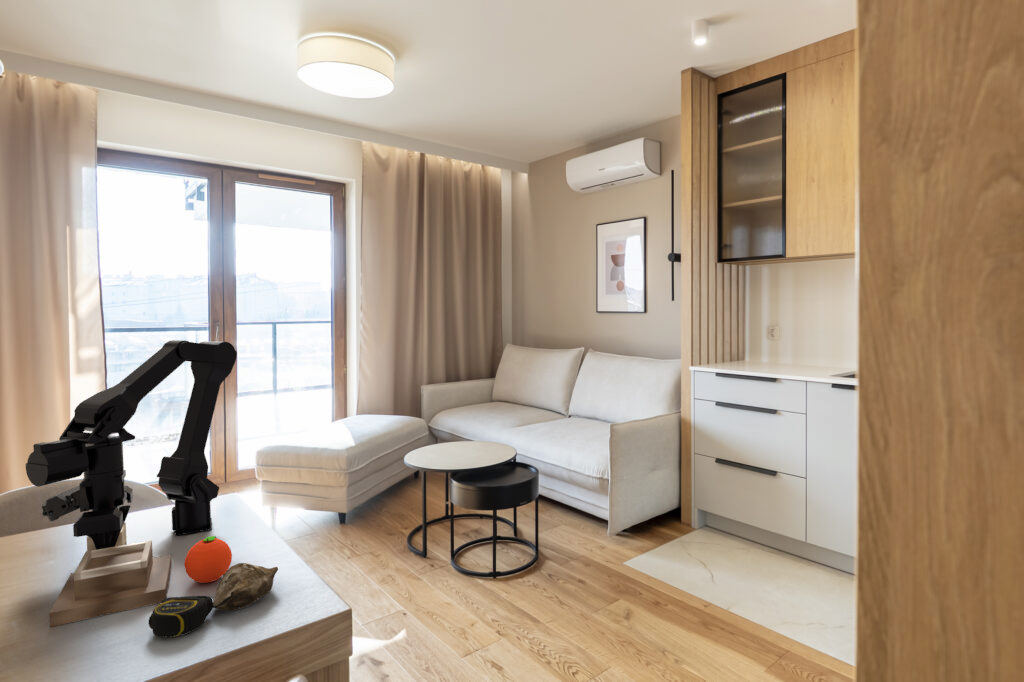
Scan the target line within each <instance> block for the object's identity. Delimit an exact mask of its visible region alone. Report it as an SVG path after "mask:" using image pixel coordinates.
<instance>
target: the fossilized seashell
mask: <svg viewBox="0 0 1024 682" xmlns="http://www.w3.org/2000/svg"><path fill="white" fill-rule="evenodd" d="M278 570H279V568H278V566H274V567H271V568H268V567H265V566H260V565H255V564H251V563H248V562H239V563H236V564H234V565H231V566H230V567H229V569H228V570H227V571H226V573H225V574H224V575H223V576H221V577H220V578H219V580H218V583H217V586H216V589H215V595H214V599H213V609H215V610H219V611H229V612H233V611H237V610H241V609H245V608H247V607H249V606H251V605H252V604H254V603H255V602H257V601H258V600H260V599H261V598H263V597H265V596H267V595H268V594H269V593H270V592H271V591H272V588H273V586H274V585H273V584H274V578H275V576H276V573H277V572H278Z"/></svg>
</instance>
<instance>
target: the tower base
mask: <svg viewBox="0 0 1024 682" xmlns="http://www.w3.org/2000/svg"><path fill="white" fill-rule="evenodd" d="M153 555H154V553H153V540H152V539H151V540H146V541H141V542H134V543H128V544H127V545H121V546H116V547H110V548H104V549H98V550H92V551H87V550H86V551H85V553H84V554H83V555H82V558H81V560H80V562H79V563H78V565H77V566H76V569H75V571H74V572H70V574H69V576H68V578H67V580H66V581H65V583H64V585H63V587H62V589H61V591H60V593H59V595H58V596H57V598H56V600H55V602H54V603H53V605H52V607H51V608H50V611H49V613H48V615H49V617H48V618H49V619H48V621H49V628H51V627H56V626H62V625H66V624H70V623H74V622H79V621H83V620H89V619H93V618H97V617H102V616H106V615H111V614H116V613H121V612H124V611H130V610H134V609H137V608H139V609H140V608H143V607H144V608H145V607H148V606H151V605H156V604H157V605H158V604H161V603H162V601H163V600H164V599H165V598H168V591H169V586H170V585H169V584H170V578H171V574H172V573H171V572H172V554H166V555H162V556H156V557H154V556H153Z"/></svg>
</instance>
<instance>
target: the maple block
mask: <svg viewBox="0 0 1024 682" xmlns="http://www.w3.org/2000/svg"><path fill="white" fill-rule="evenodd" d="M121 545H127V523H126V522H125V523H124V524H123V526H122V529H121V532H120V534H119V537H118V540H117V542H116V545H115V547H116V546H121ZM92 550H96V547H95V545H94V542H93V540H92V538H90V537H88V536H86V551H92Z"/></svg>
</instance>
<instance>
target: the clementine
mask: <svg viewBox="0 0 1024 682" xmlns="http://www.w3.org/2000/svg"><path fill="white" fill-rule="evenodd" d="M232 559H233V553H232V550H231V548H230V546H229V544H228V543H226V541H224V540H222V539H220V538H217V536H216V535H211V536H210V535H209V536H206V537H205V538H203V539H201V540H199V541H197V542H196V543H195V544H194V545H193V546H192V547H190V549H189V550H188V551H187V554H186V556H185V558H184V564H183V566H184V570H185V572H186V574H187V577H189V578H190V579H191V580H192V581H194V582H197V583H201V584H205V583H212V582H214V581H217V580H220V579H221V578H222V577H223V575H224V574H225V573H226V571H227V570H228V569H229V568H230V567H231V563H232V561H233V560H232Z"/></svg>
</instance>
